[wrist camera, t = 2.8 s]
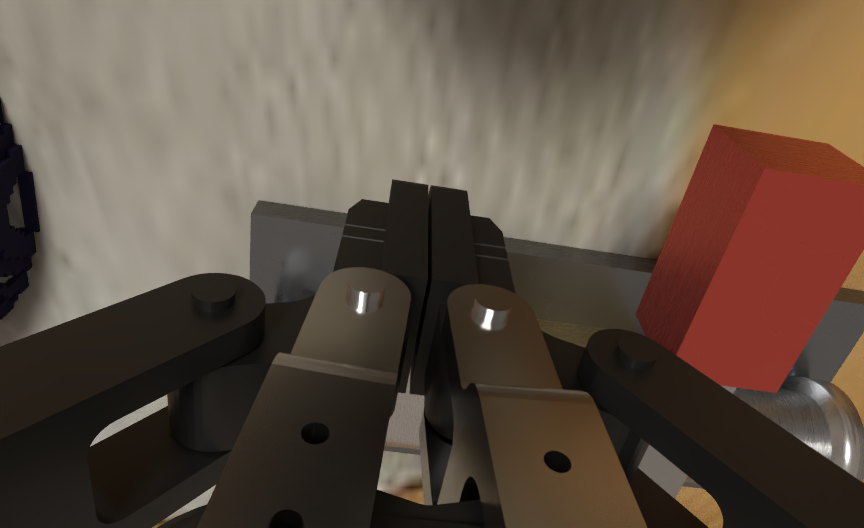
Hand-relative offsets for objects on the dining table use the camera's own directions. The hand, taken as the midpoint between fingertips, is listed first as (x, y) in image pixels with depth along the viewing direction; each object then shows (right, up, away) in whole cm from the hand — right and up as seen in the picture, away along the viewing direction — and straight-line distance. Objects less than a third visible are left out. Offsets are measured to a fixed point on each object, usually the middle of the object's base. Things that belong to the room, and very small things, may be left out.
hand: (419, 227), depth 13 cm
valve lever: (+6, -5, +5) cm, 9 cm away
